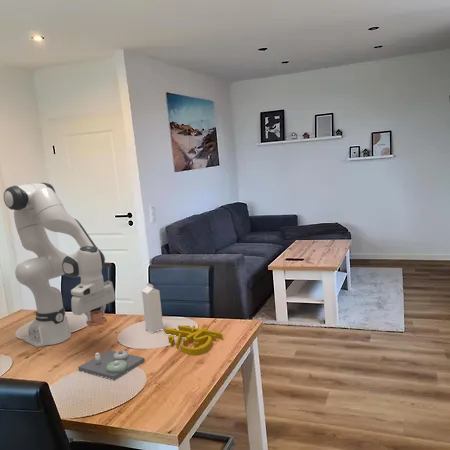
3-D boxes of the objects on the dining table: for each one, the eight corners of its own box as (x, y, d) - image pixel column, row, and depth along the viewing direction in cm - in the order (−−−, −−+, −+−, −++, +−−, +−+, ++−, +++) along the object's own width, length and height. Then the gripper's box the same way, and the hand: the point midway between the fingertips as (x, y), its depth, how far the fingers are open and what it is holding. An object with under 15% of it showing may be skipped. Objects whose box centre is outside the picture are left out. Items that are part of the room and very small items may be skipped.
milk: (151, 333, 195) (146, 286, 192) (145, 330, 200) (140, 284, 197) (163, 329, 199) (158, 283, 196) (157, 326, 204) (152, 281, 201)
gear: (82, 325, 177) (81, 314, 177) (97, 318, 184) (96, 308, 183) (96, 328, 173) (94, 317, 173) (110, 321, 180) (109, 310, 179)
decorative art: (197, 351, 167) (144, 337, 185) (197, 358, 167) (145, 343, 185) (229, 332, 183) (178, 321, 201) (229, 338, 184) (178, 327, 202)
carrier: (78, 370, 164) (76, 355, 163) (110, 353, 177) (108, 339, 176) (114, 380, 154) (112, 364, 153) (145, 361, 167) (143, 347, 166)
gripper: (106, 278, 187) (109, 309, 189) (67, 292, 170) (71, 325, 172) (116, 279, 183) (120, 311, 185) (77, 293, 166) (81, 327, 168)
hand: (96, 318), depth 178 cm, fingers closed on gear, 5 cm apart
